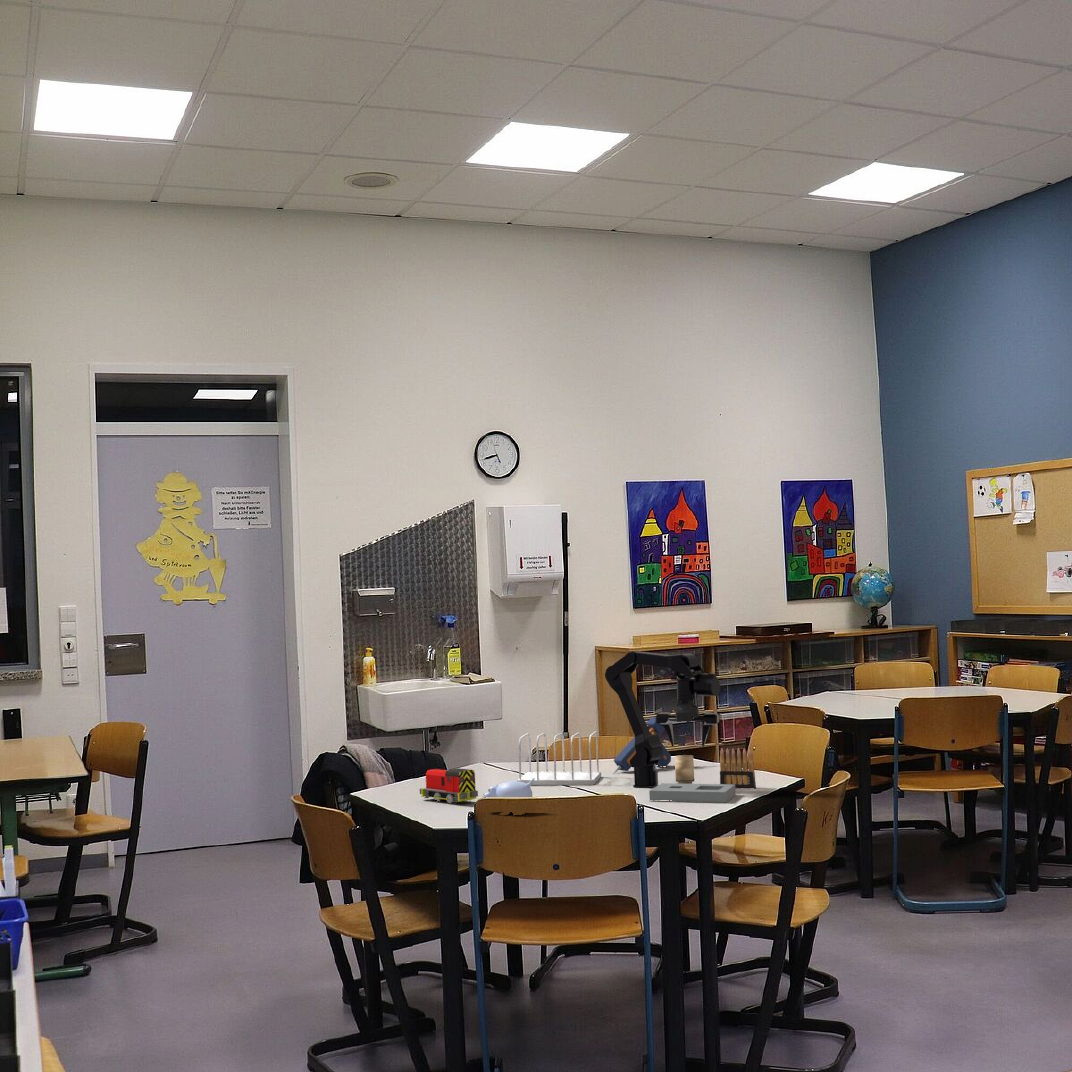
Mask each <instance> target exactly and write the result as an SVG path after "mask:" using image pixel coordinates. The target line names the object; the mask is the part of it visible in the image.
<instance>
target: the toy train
mask: <svg viewBox="0 0 1072 1072" xmlns="http://www.w3.org/2000/svg"><path fill="white" fill-rule="evenodd" d="M419 795H421V797H423V798H424V799H429V798H433V799H434V801H435V800H437V801H439V802H441V800H446V802H447V803H449V804H452V803H459V802H460V803H461V802H466V801H472V800H475V799H477V797H478V796H479V791H478V790H476V772H475V769H468V768H457V767H456V768H452V769H438V768H436V767H435V768H433V769H428V770H427V771H426V773H425V787H421V788H419ZM437 801H436V802H437Z"/></svg>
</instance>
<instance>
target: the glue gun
mask: <svg viewBox="0 0 1072 1072" xmlns="http://www.w3.org/2000/svg"><path fill="white" fill-rule="evenodd" d="M646 724H647V727H648V729H649V731H650V732H651V733H652V734H653V735H656V734H658V736H659V739H660V737H661V736H662V733H663V732H664V731H666V730H665V728H664V727H663V726H660V724H661V723H656V716H651V718H650V719H648V721H647V722H646ZM660 742H661V740H660ZM634 743H635V736H633V738H632V739H631V740H630V741H629V742H628V743H627V745H625V747H624V748H623V749H621V751H620V752H619V753H618V754H617V755H616V757H615V758H614V759H613V762H614V764H615V765H616V766H617V767H616V768H615V770H614V771H613V775H614V774H616V773H617V772H618V771H622V772H628V771H630V769H631V768H632V767H631V765H630V759H631V758H632V757H633V756H634V755H635V754H636V751H635V747H634ZM661 744H662V745H663V746H662V749H663V753H662V756H661V757H660V759H659V762H658V764H657V765H658V766H666V767H668V766H669V764H670V763H671V762H672V754H670V752H669V751H668V750H667V748H666V747H665V745H664V744H663V743H662V742H661Z"/></svg>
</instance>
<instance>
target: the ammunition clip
mask: <svg viewBox="0 0 1072 1072" xmlns="http://www.w3.org/2000/svg"><path fill="white" fill-rule="evenodd" d="M730 753H731V754H730ZM747 754H748V755H747ZM719 755H720V756H719V757H720V758H719V759H720V760H719V768H720V769H719V784H735V789H741V788H755V789H756V788H757V784H756V783H757V782H756V774H755V766H754V765H755V763H754V756H753V751H752V749H751V748H749V749H748V753H747V750H746V748H743V750H742V753H741V749H740V747H738V748H737V752H736V751H735V749H734V747H733V748H732V749H731V752H730V750H729V748H728V747H727V748H726V751H724V749H723V747H721V748H720V754H719Z"/></svg>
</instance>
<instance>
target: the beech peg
mask: <svg viewBox="0 0 1072 1072" xmlns="http://www.w3.org/2000/svg"><path fill="white" fill-rule="evenodd" d="M694 764H695V762H694V755H691V754H689V755H688V754H682V755H681V754H679V755H675V756H674V766H675V769H674V770H675V783H680V784H693V782H695V769H694V768H695V767H694V766H695V765H694Z"/></svg>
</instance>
